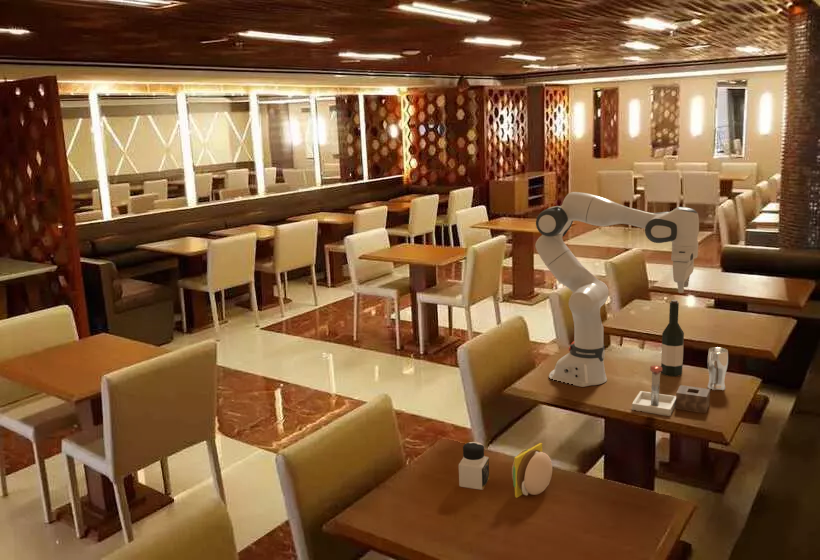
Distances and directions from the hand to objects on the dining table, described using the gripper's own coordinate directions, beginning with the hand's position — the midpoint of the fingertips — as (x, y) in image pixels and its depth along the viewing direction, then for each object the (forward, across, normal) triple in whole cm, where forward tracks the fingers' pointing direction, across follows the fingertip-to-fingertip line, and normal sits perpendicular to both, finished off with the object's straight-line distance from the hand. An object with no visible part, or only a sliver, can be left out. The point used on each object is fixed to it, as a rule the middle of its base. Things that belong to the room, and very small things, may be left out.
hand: (683, 289), depth 259 cm
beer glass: (+39, -8, +12) cm, 42 cm away
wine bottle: (+39, -18, -6) cm, 44 cm away
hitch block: (+39, +14, +7) cm, 42 cm away
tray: (+39, +19, -5) cm, 44 cm away
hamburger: (+39, +93, -23) cm, 104 cm away
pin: (+38, +19, -5) cm, 43 cm away
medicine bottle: (+39, +96, -40) cm, 111 cm away
